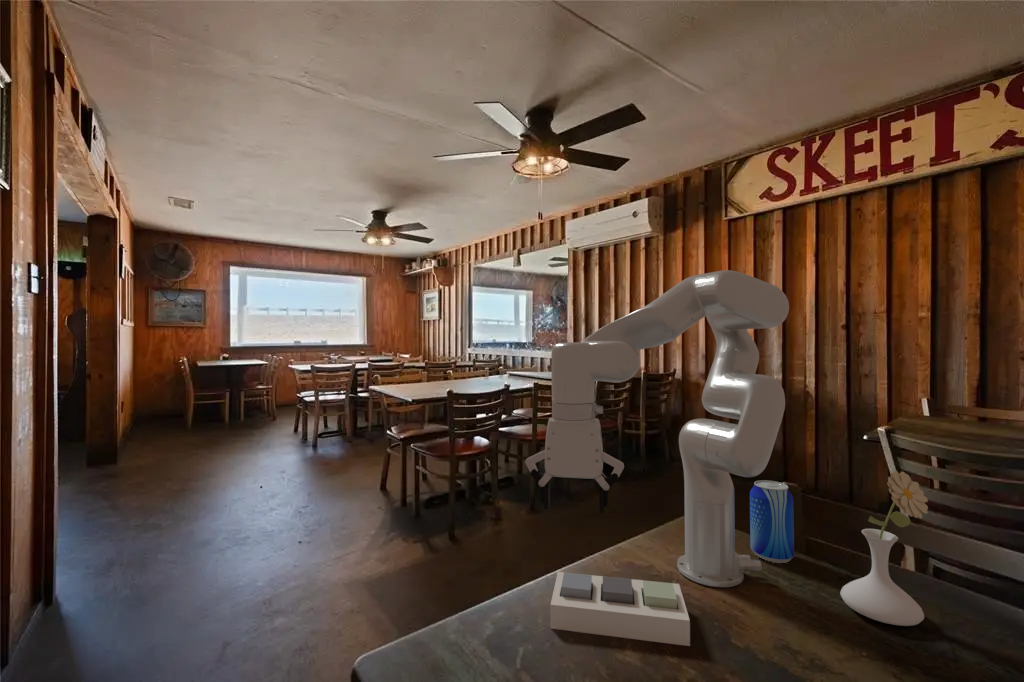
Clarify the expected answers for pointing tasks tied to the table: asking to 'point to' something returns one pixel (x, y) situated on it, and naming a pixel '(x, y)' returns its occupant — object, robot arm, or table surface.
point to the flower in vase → (877, 589)
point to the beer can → (772, 521)
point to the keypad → (620, 615)
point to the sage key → (659, 595)
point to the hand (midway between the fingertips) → (574, 508)
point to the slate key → (576, 586)
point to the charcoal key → (617, 590)
